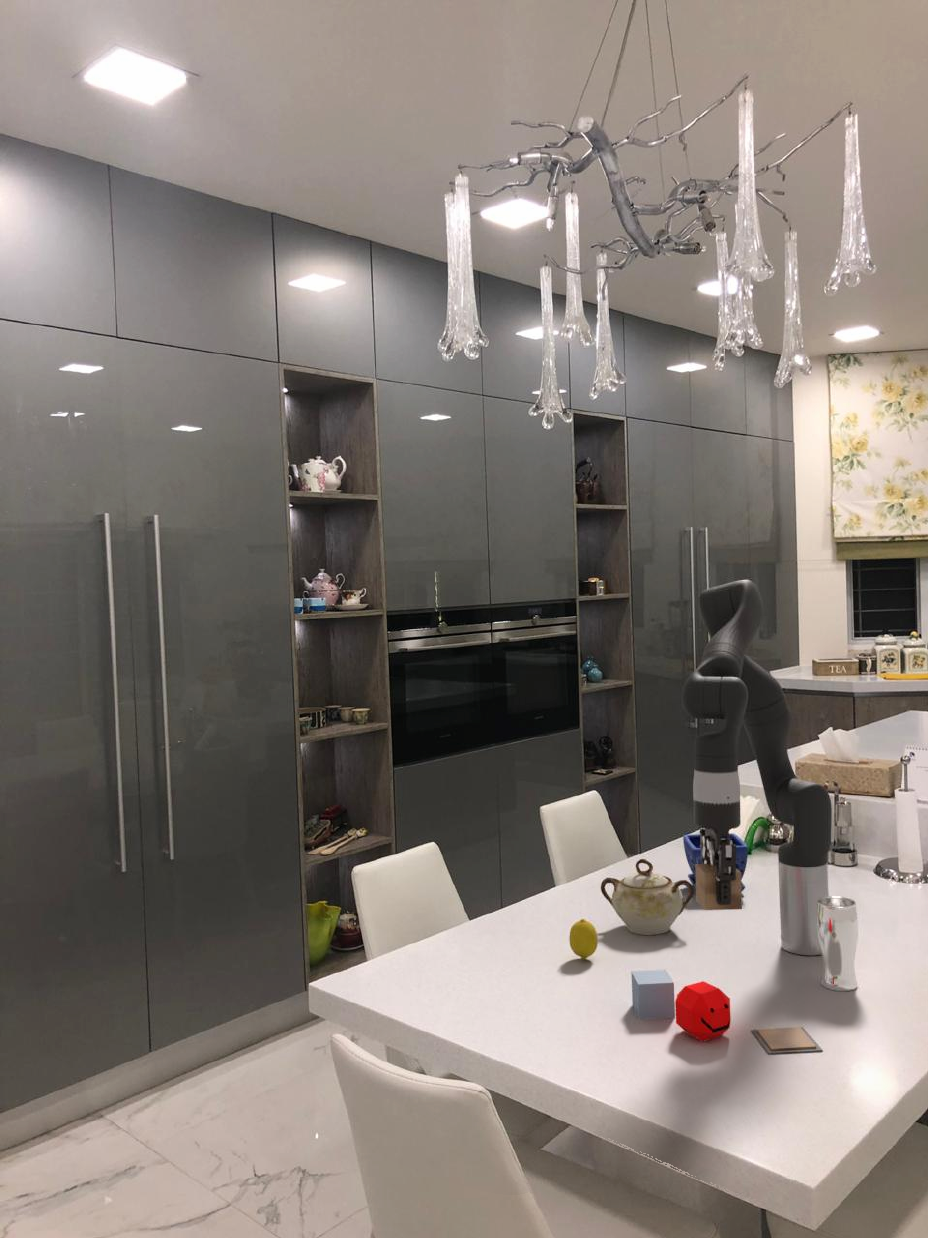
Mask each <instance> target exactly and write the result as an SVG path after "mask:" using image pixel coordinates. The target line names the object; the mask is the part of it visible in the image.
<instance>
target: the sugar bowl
mask: <svg viewBox="0 0 928 1238" xmlns="http://www.w3.org/2000/svg"><path fill="white" fill-rule="evenodd" d="M640 864H645V865H647V866H648V869H647V870H641V868H640ZM635 869H636V873H633V874H631V875H628V876H626V877H624V878H622V879H621V880H619V879H617V878H613V877H605V878H604V879H603V880H602V882H601V884H600V890H601V891H600V892H601V893H602V896H603V897H604V898H605V899H606V900H607V901H608V902H609V903H610V905H611V907H612V908H613V909H614V911H615V913H616V915H617V916H618V917H619V918H620V920H621V921H622V922H623V923H624V924H625V926H626V928H627V929H628V931H629V932H630V933H634V934H636V935H642V936H643V935H644V936H655V935H656V936H657V935H661V934H664V933H666V932H668V931H669V930H670V928H671V927H672V926H673V924H674V922H675V921H676V920H677V918H678V917H679V916H680V915H681V914H682V913H683V912H684V909H685V908H686V907H687V905H688V904H689V902H691V900H692V899H693V896H694V894H695V893H694V891H695V890H694V889H695V888H694V886H693V884H692V883H691V881H688V880H687V879H682V880H681V879H680V880H678V881H676V882H673V879H671V877H668V876H665V875H661V874H659V873H656V872H653V870H654V866H653V864H652V863H651V862H650V861H648V860H647V859H645V858H641V859H639V860H637V861H636V863H635ZM607 884H611V885H613V891H612V893H611V894H612V895H611V896H610V895H609V894H608V892H607V891H606V885H607ZM680 886H686V887H687V888H688V890H689V891H688V892H689V893H688V895H687V898H686V899H685V900H684V897H683V893H682V891H681V889H680Z"/></svg>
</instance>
